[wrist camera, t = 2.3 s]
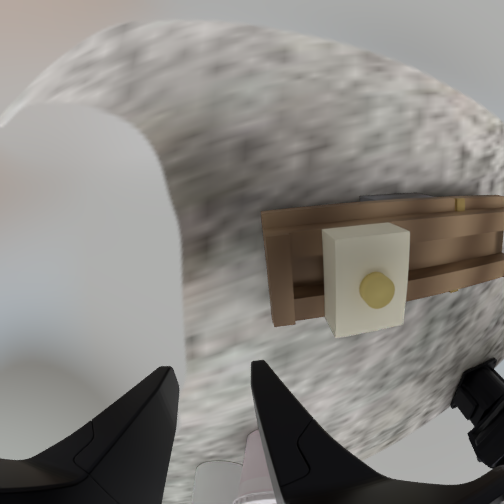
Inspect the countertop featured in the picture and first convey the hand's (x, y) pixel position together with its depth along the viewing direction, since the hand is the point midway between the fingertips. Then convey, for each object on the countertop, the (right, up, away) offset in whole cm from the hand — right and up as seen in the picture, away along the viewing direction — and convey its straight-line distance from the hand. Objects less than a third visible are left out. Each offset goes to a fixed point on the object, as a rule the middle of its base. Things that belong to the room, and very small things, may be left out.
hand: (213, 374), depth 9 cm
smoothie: (+3, -16, +18) cm, 25 cm away
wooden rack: (+12, +5, +12) cm, 18 cm away
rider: (+7, +3, +8) cm, 12 cm away
